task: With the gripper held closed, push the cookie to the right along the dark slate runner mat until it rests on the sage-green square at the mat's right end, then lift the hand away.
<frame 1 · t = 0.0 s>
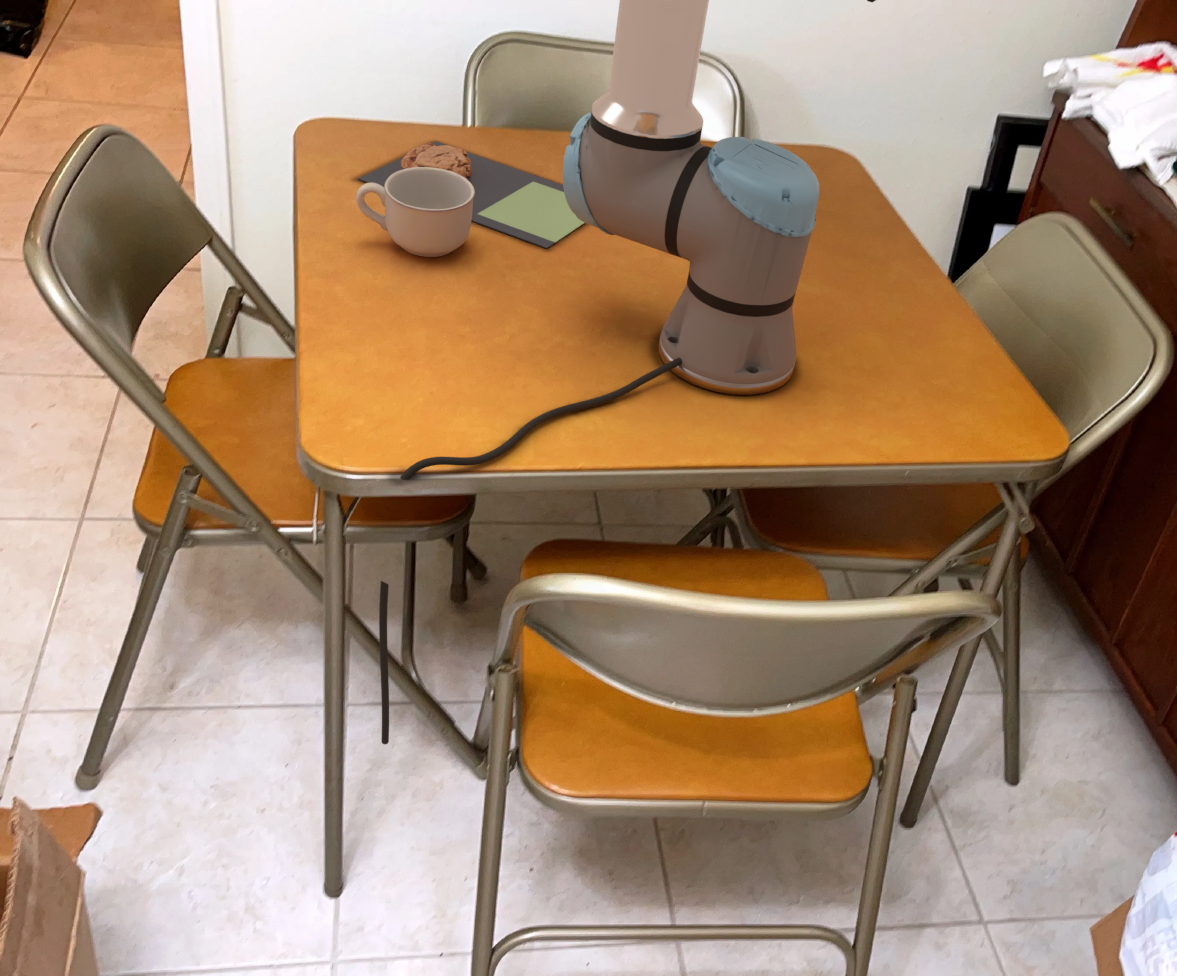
teacup: (415, 246, 139), on the table
runner: (487, 192, 153), on the table
cookie: (439, 174, 156), resting on runner
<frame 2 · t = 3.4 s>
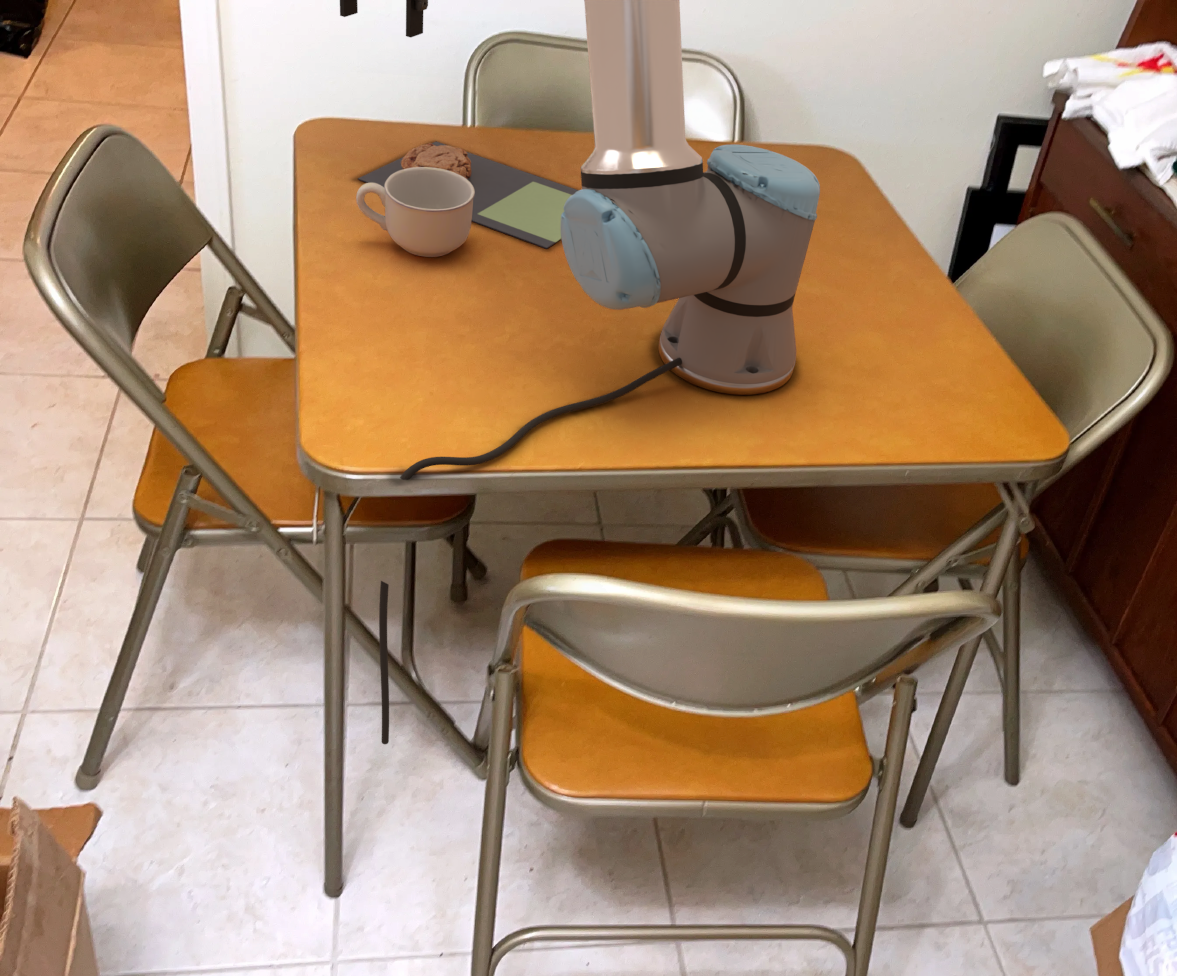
hand: (381, 24, 148), 18 cm above the table, tool pointing down, fingers open, 10 cm apart
nothing on the table moved.
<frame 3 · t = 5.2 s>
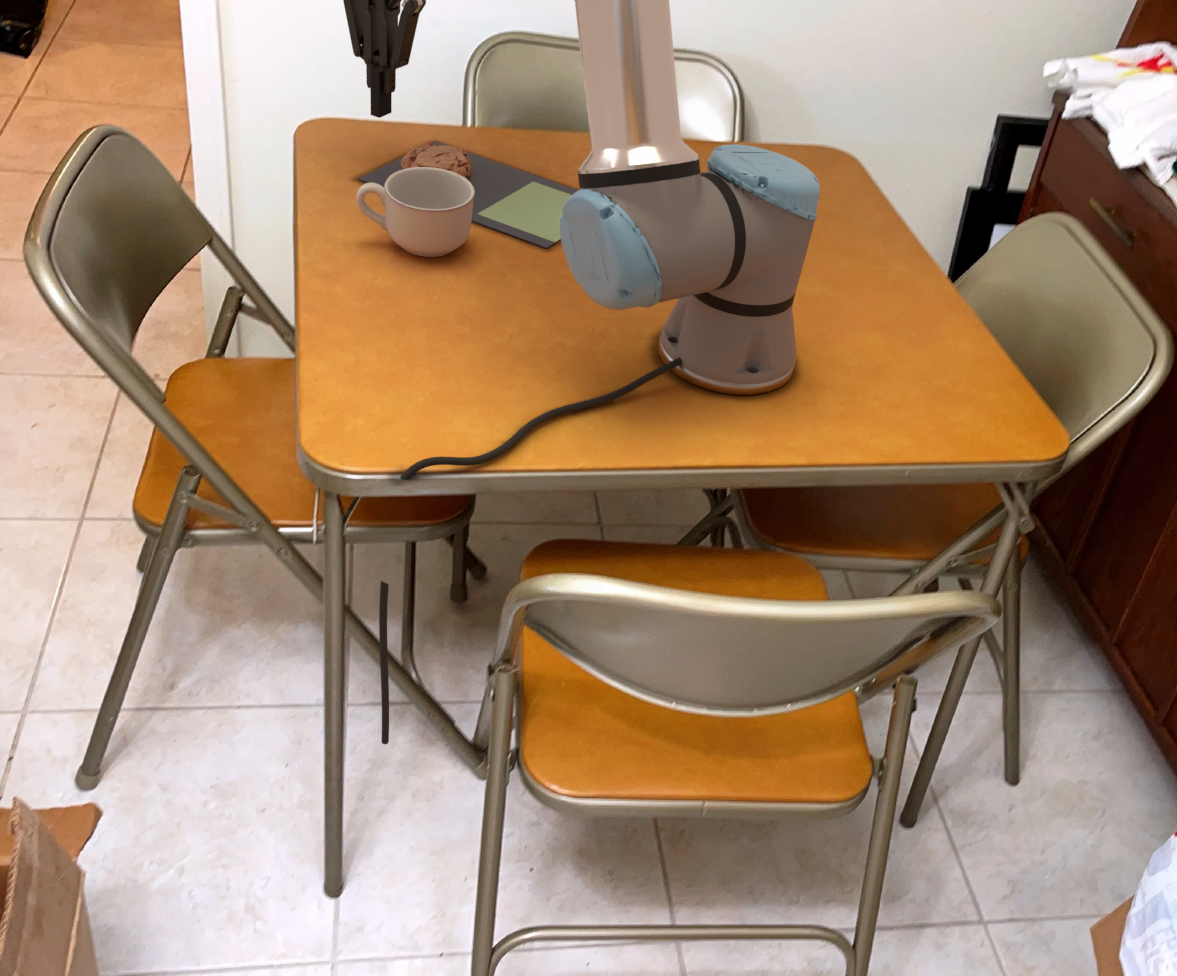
hand: (381, 113, 155), 6 cm above the table, tool pointing down, fingers closed
nothing on the table moved.
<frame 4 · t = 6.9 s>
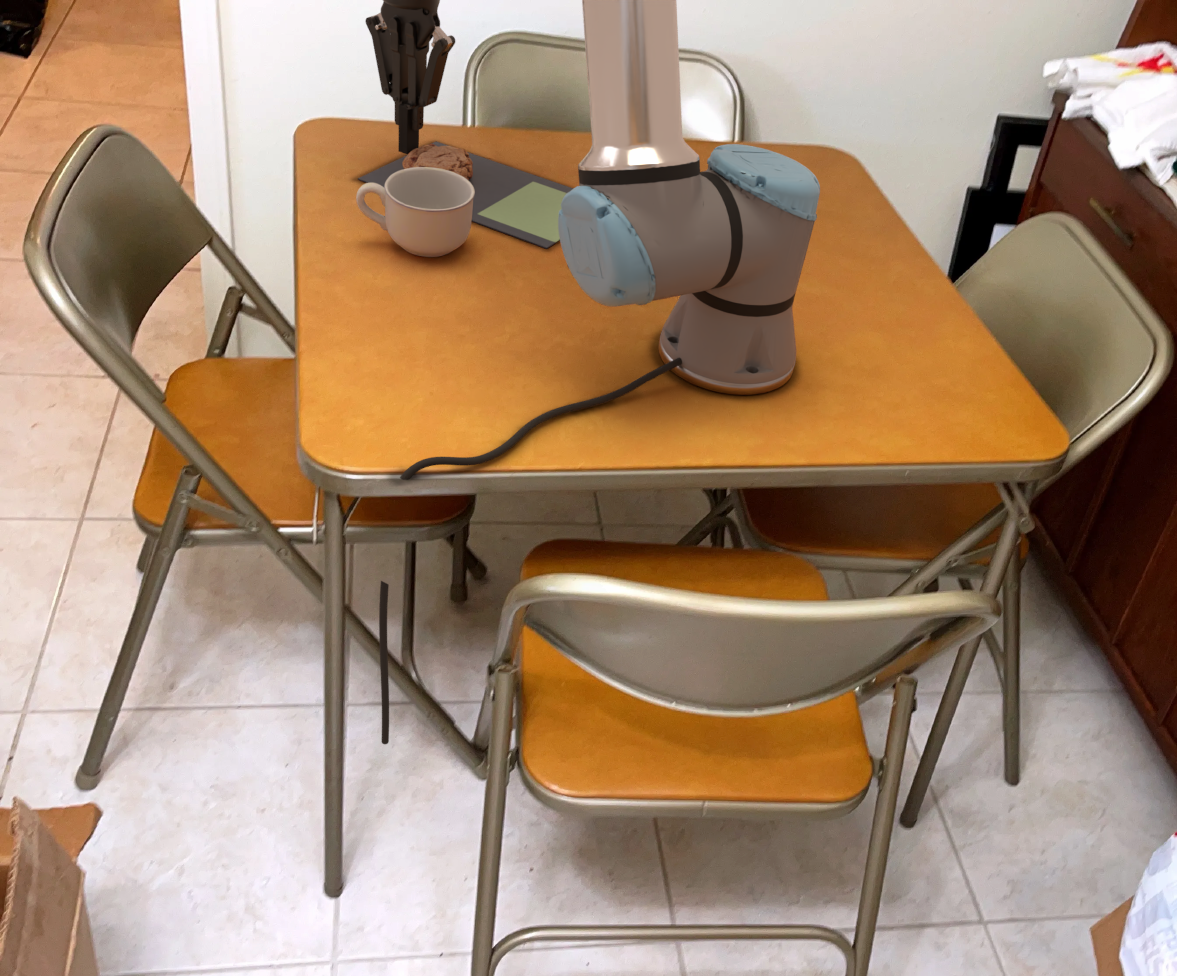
hand: (408, 150, 156), 2 cm above the table, tool pointing down, fingers closed
cookie: (440, 175, 156), resting on runner, touching gripper
everything else where it was.
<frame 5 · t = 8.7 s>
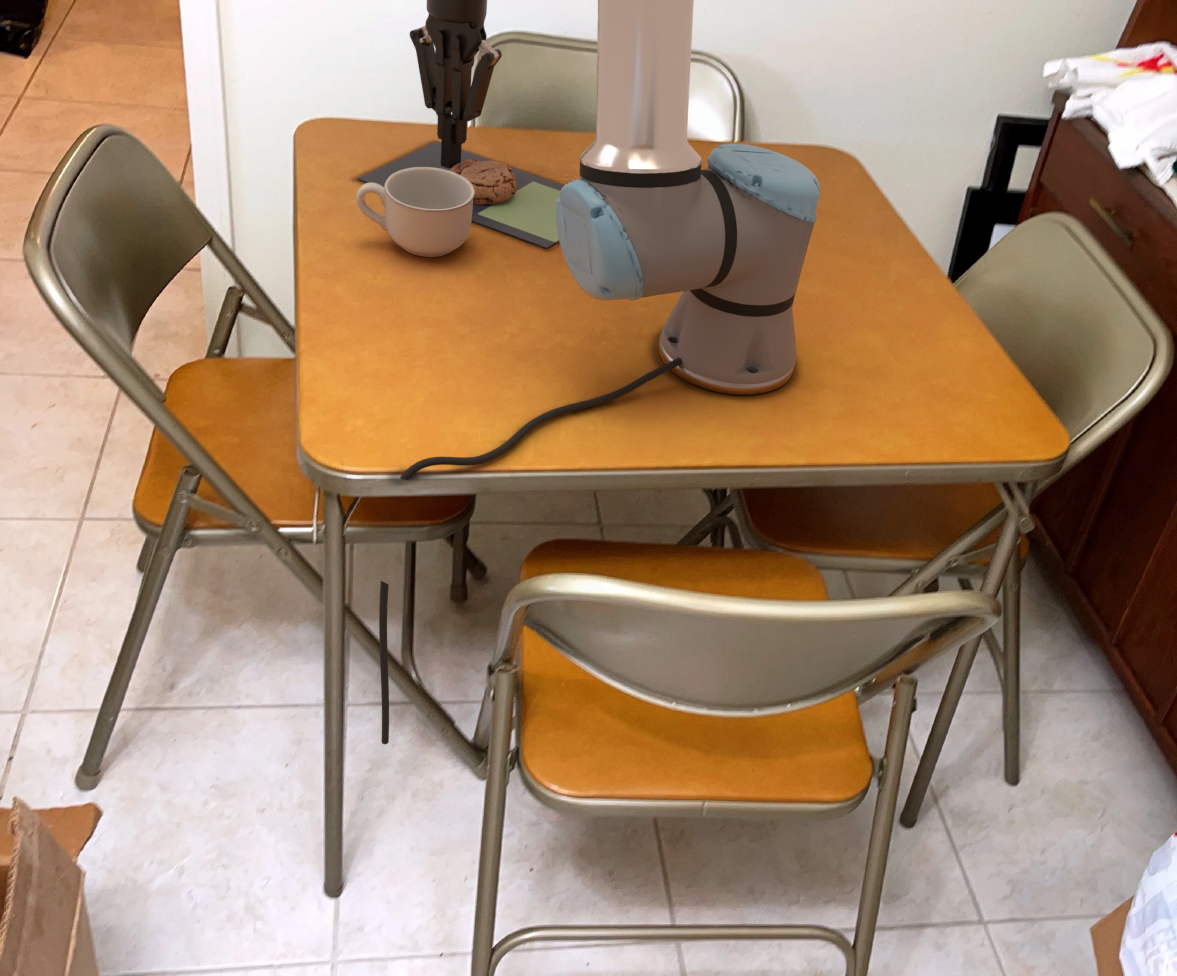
hand: (450, 164, 154), 2 cm above the table, tool pointing down, fingers closed
cookie: (483, 190, 153), resting on runner, touching gripper
everything else where it was.
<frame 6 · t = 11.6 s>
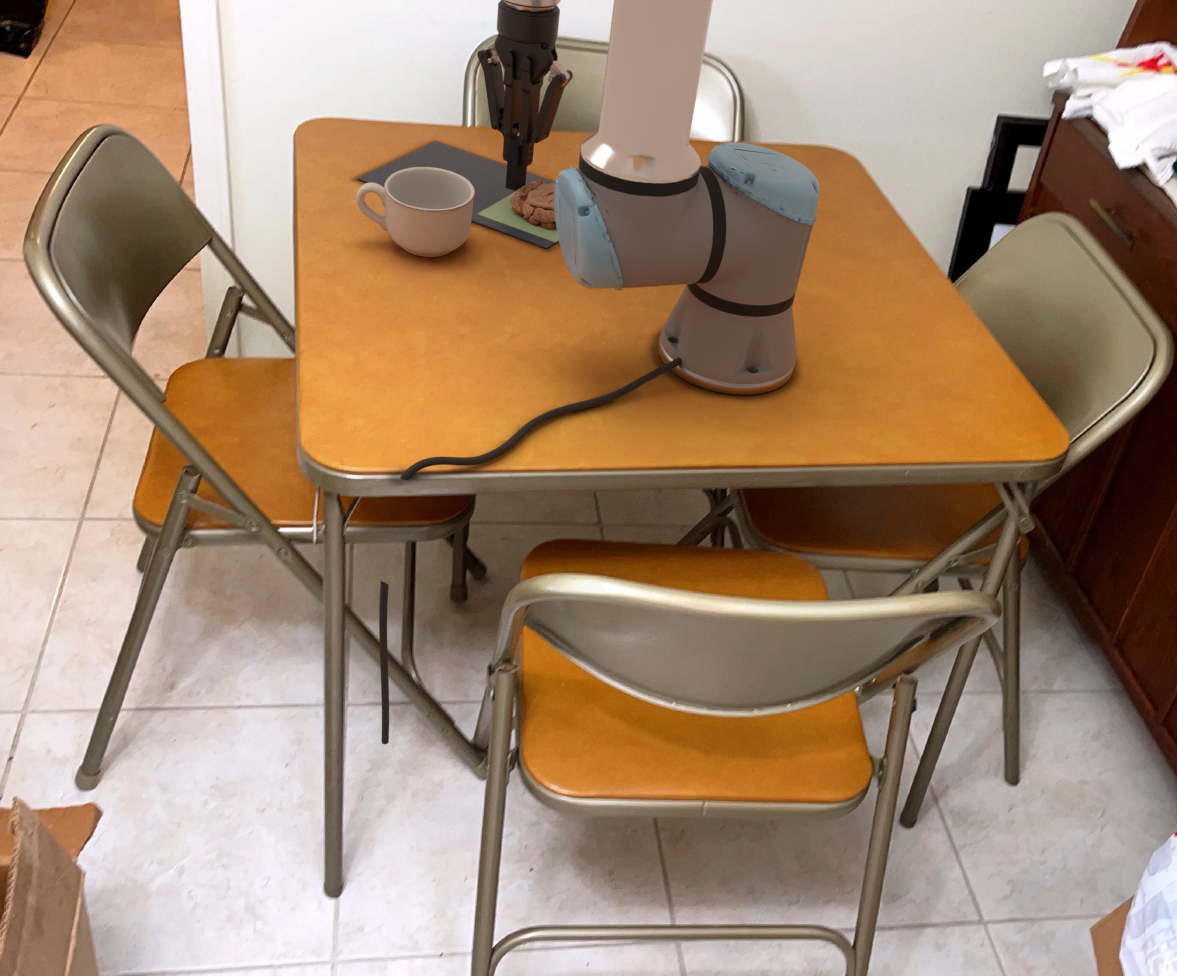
hand: (515, 186, 150), 2 cm above the table, tool pointing down, fingers closed
cookie: (549, 213, 150), resting on runner, touching gripper
everything else where it was.
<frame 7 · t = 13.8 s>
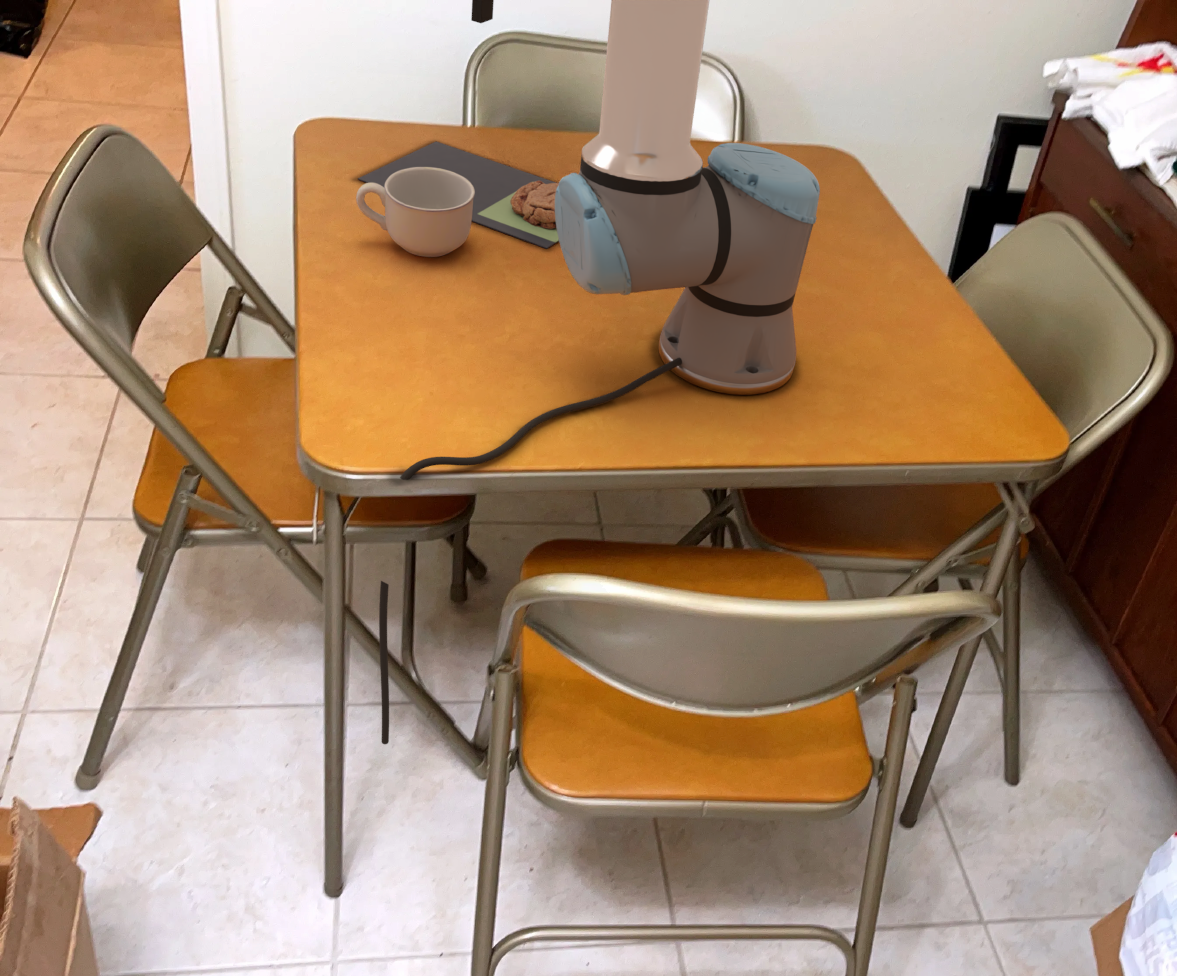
hand: (482, 19, 145), 21 cm above the table, tool pointing down, fingers closed
cookie: (549, 213, 150), resting on runner
everything else where it was.
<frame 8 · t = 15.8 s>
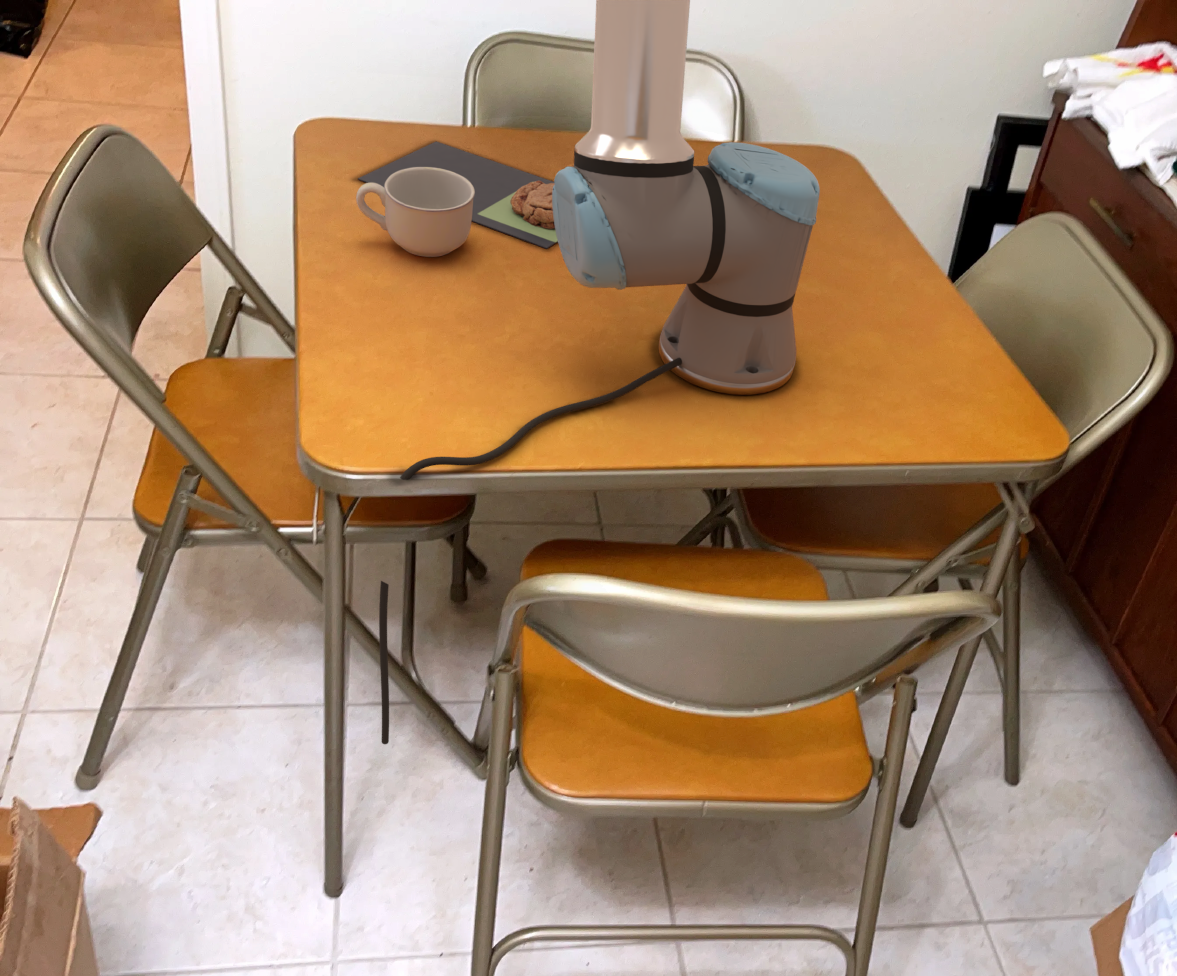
nothing on the table moved.
at the end: cookie inside the target area on the runner (0.9 cm from its centre), point 0.0 cm above the runner's base; cookie moved 17.9 cm from its start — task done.
